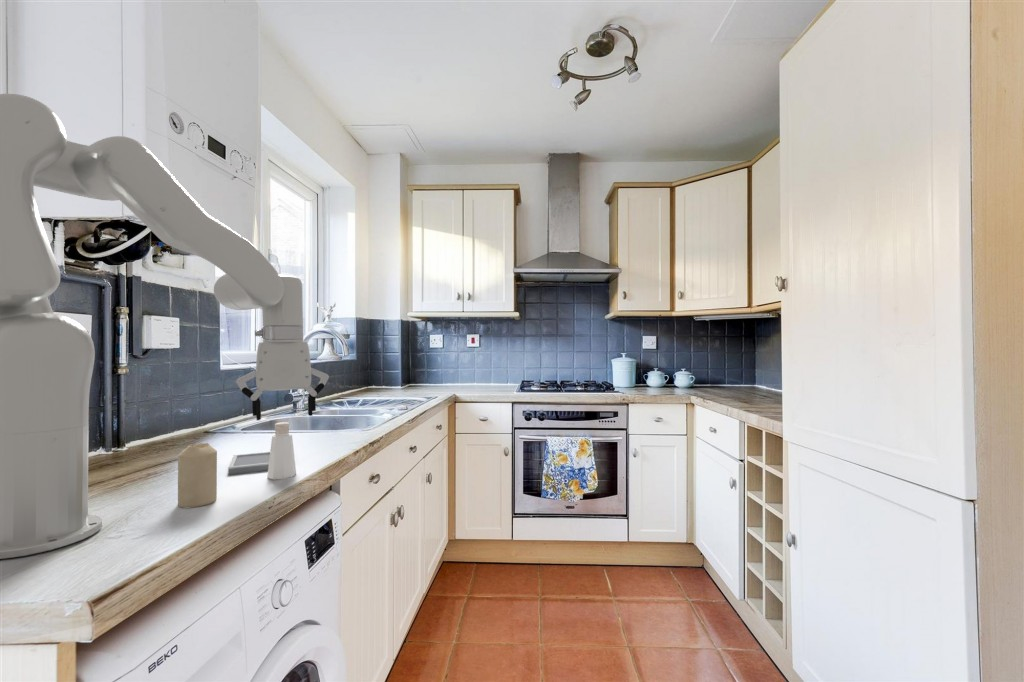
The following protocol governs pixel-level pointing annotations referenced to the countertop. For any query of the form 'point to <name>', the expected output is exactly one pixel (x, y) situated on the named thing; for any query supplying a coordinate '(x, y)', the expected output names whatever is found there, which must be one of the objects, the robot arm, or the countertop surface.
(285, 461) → the salt shaker
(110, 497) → the countertop surface
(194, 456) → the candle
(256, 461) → the tray
